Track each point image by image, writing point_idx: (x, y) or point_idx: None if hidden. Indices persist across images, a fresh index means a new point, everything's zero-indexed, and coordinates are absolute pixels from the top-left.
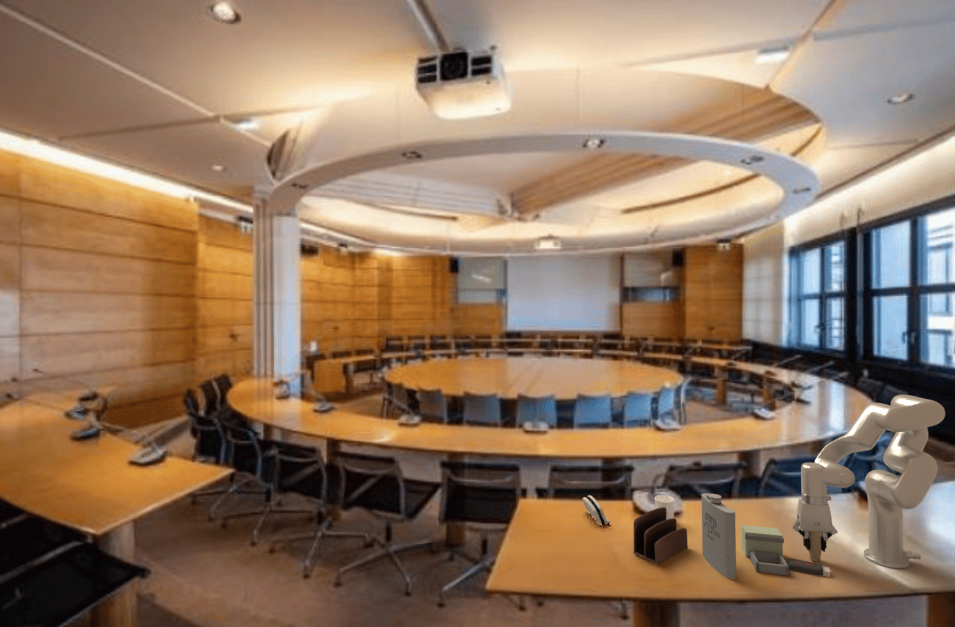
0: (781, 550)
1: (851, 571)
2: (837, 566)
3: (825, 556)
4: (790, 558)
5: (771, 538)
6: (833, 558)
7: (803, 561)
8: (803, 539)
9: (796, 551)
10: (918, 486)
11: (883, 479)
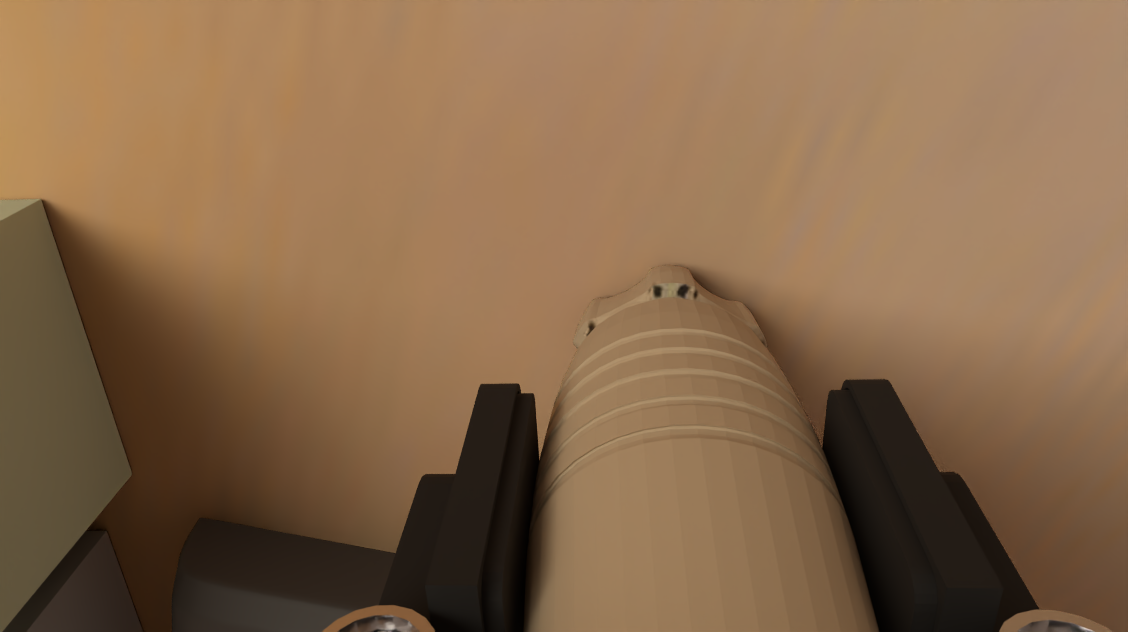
0: (3, 602)
1: (1105, 570)
2: (965, 469)
3: (950, 124)
4: (197, 627)
5: None
6: (1078, 177)
7: None
8: (392, 595)
9: (400, 37)
10: None
11: None
